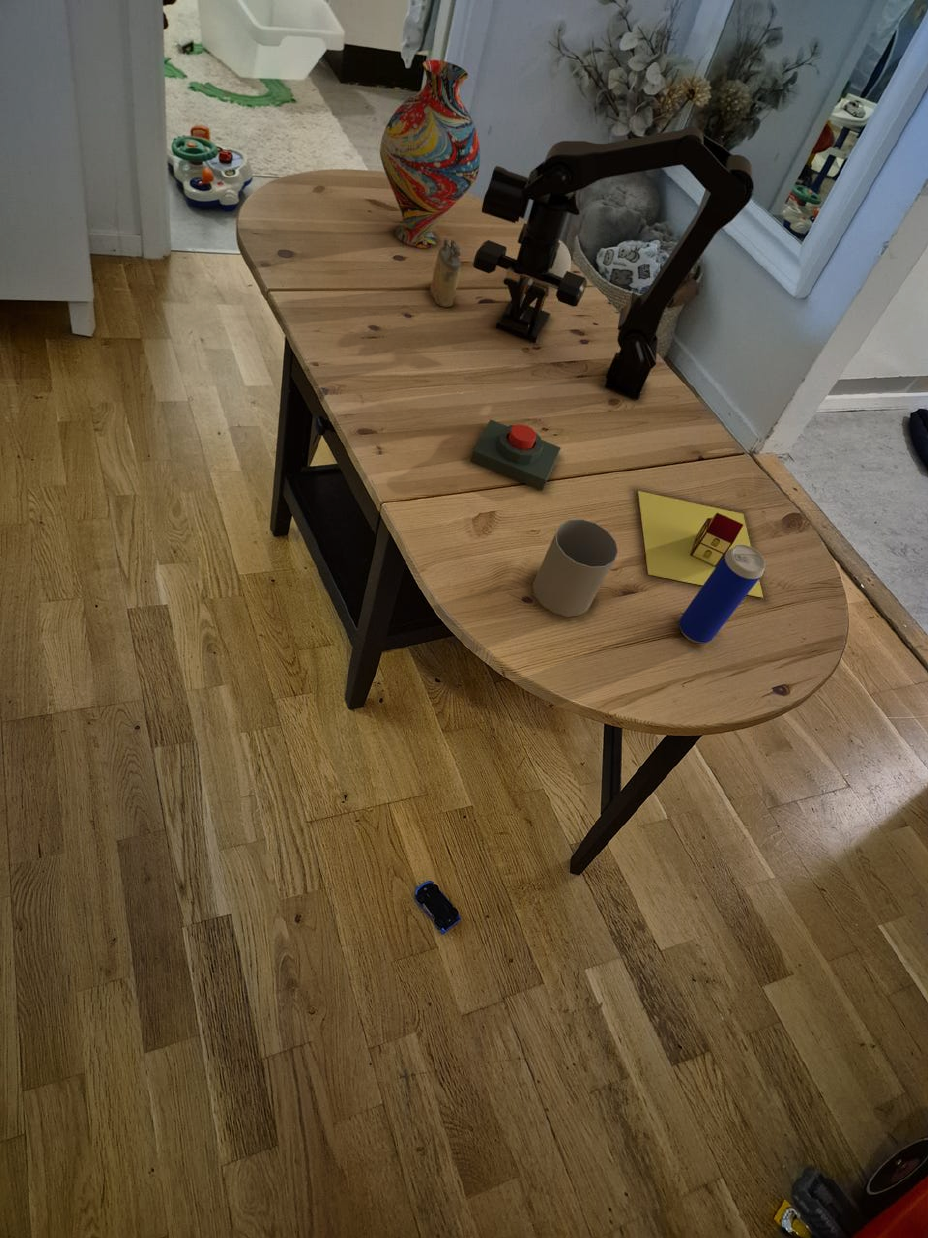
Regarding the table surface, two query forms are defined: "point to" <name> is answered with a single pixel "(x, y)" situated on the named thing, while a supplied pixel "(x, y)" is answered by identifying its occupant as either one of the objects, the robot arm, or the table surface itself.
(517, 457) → the button box
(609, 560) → the cup
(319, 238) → the table surface
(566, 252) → the ball
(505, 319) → the lever
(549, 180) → the robot arm
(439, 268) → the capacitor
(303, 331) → the table surface
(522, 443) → the button
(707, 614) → the beverage can
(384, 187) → the table surface
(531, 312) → the tap bracket
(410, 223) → the vase
